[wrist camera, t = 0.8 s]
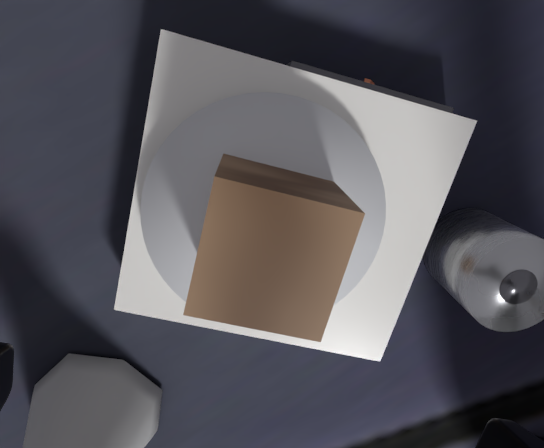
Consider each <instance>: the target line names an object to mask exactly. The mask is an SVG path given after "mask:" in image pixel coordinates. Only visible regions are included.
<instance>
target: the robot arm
mask: <svg viewBox="0 0 544 448" xmlns="http://www.w3.org/2000/svg"><path fill="white" fill-rule="evenodd" d="M13 363H14V349H13V346H12V345H10V344H8V343H2V342H0V411H1V409H2V407H3V405H4V404H5V402H6V400H7V398H8V396H9V394H10V391H11V388H12V382H13ZM475 448H544V439H543V438H537V437H536V436H535V435H533V434H532V433H530V432H529V431H527V430H526V429H524V428H523V427H522V426H520V425H519V424H517V423H516V422H514V421H511V420H506V419H499V418H493V419H491V420H489V421H488V422H487V424H486V426H485V428H484V430H483V432H482V434H481V437H480V439H479V441H478V443H477V445H476V447H475Z"/></svg>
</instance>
